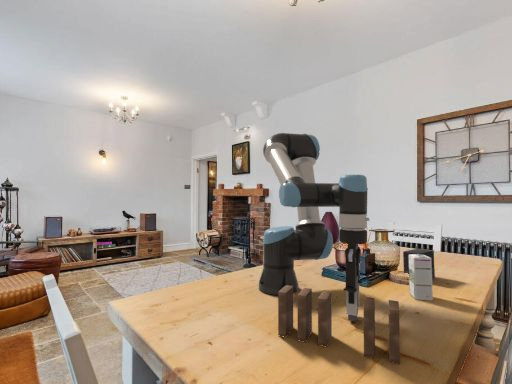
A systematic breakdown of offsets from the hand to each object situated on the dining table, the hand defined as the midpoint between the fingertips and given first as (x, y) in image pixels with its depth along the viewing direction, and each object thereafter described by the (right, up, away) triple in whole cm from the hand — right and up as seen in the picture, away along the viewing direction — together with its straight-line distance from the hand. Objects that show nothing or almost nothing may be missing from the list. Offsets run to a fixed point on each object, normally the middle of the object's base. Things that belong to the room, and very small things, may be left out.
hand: (353, 309), depth 78 cm
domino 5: (-2, -2, -16) cm, 16 cm away
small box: (+43, -4, +41) cm, 60 cm away
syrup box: (+30, -3, +17) cm, 35 cm away
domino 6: (+3, -2, -18) cm, 19 cm away
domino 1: (-20, -2, -7) cm, 21 cm away
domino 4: (0, -2, 0) cm, 2 cm away
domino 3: (-11, -2, -12) cm, 16 cm away
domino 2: (-15, -2, -10) cm, 18 cm away
